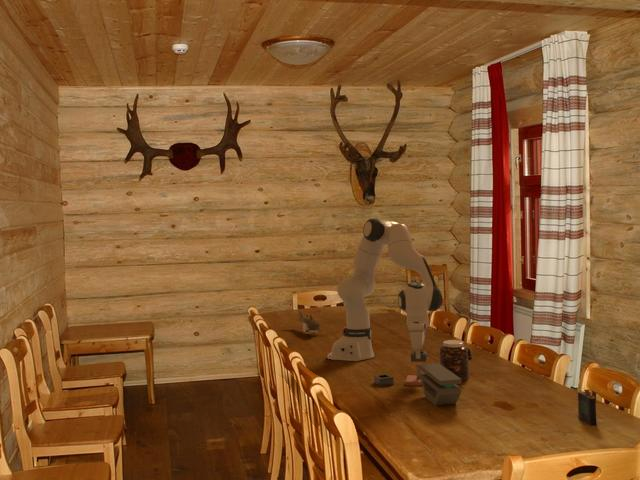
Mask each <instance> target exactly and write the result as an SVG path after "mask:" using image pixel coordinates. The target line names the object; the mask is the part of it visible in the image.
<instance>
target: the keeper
mask: <svg viewBox="0 0 640 480" xmlns="http://www.w3.org/2000/svg"><path fill="white" fill-rule="evenodd" d="M419 365H420V364H416V367H415V368H416V374H415V375H412V374H411V375H410V374H409V375H407V377H406V380H405V381H404V382H405V384H404V385H405V386H420V387H423V386H422V383H421V375H420V374H422V373H421V372H422V370H420V369H419Z"/></svg>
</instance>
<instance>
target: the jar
mask: <svg viewBox="0 0 640 480" xmlns="http://www.w3.org/2000/svg"><path fill="white" fill-rule="evenodd" d="M464 345H465V344H464V341H462V340H458V339H449V340H444V341H443V343H442V345H441V346H439V364H441V365H442V366H443V367H445V368H446V369H448V370H449V371H451V372H452V373H453V374H455V375H456V376H458V377H459V378H461V381H462V382H464V381H467V380H469V378H470V377H469V376H470V375H469V373H470V372H469V368H470V367H469V366H470V365H469V356H468V349H467V347H468V346H467V345H465V346H464ZM466 346H467V347H466Z"/></svg>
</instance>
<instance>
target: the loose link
mask: <svg viewBox="0 0 640 480" xmlns="http://www.w3.org/2000/svg"><path fill="white" fill-rule="evenodd" d="M373 379H374V381H373V382H374V384H375V385H377V386H379V387H384V386H390V385H391V386H392V385H394V376H392V375H391V374H389V373H384V374H376V375H373Z"/></svg>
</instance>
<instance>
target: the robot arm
mask: <svg viewBox="0 0 640 480" xmlns="http://www.w3.org/2000/svg"><path fill="white" fill-rule="evenodd" d="M362 234H363V236H362V238H361V240H360V242H359V245H358V247H357V250H356V252H355V256H354V260H353V265H354V271H353V275H352V276H350V277H345V278H344V279H343V280H342V281H340V282H339V283H338V285H337V289H336V291H337V292H336V293H337V294H338V297H339V298H340V299H341V300H342V303H343V306H344V309H345V316H346V317H345V318H346V326H344V327H343V329H342V336H341V337H340V338H339V339H337V340H336V341H335V342H334V343H333V345H332V347H331V352H329V353H328V354H327V356H326V358H327V359H328V360H329V359H331V361H332V360H334V361H349V362H359V361H364V360H369V359H372V358H375V353H374V350H373V345H372V327H371V324H370V323H371V322H370V310H369V309H368V308H367V306H366V303H365V297H366V298H367V297H368V296H370V295H371V294H372V293H373V292H374V291H375V290H376V285H377V284H376V281H375V280H376V279H375V276H376V270H377V266H378V263H379V261H380V257H381V255H382V252H383V249H384V246H385V245H387V247H388V248H387V249H388V252H389V253H388V254H389V257H390V260H391V261H392V262H393V263H394V264H395V265H397V266H399V267H400V268H405V269H409V270H412V271H414V272H416V273H418V275H420V278H421V281H422V282H419V281H416V282H415V281H413V282H410V283H408V284H406V287H405V288H404V289H402V290H400V292H399V293H398V294H397V305H398V306H397V307H398V308H399V309H400V310H402V311H403V312H406V327H407V331H409V337H410V344H411V348H412V351H415V353H416V358H417V359H420V358H421V354H420V351H423V345H424V342H425V339H426V337H425V332H426V331H427V328H429V327H430V325H429V323H430V322H429V313H428V312H436V311H438V310H439V309H440V308H441V307H442V305H443V301H444V300H443V295H442V292H441V290H440V288H439V287H438V285H437V283H436V281H435V279H434V278H435V277H434V276H433V273H432V271H431V269H430V267H429V264H428V262H427V260H426V258H425V257H424V255H422V254H420V253H419V251H417V250H416V248H415V245H414V243H413V238H412V235H411V233H410V229H409V227H408V226H407V225H406V224H403V223H401V222H399V223H398V222H397V221H393V220H387V219H378V218H369V219H367V220H366V221H365V223H364V224H363V228H362Z"/></svg>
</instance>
